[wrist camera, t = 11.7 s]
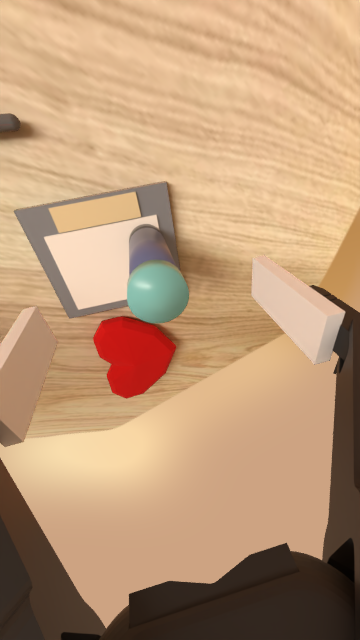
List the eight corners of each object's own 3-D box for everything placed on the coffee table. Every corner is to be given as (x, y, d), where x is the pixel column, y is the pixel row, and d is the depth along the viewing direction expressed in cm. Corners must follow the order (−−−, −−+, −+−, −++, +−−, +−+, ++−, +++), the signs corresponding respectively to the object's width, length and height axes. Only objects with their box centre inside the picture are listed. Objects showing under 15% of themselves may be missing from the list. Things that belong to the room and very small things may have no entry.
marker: (133, 263, 26) (136, 328, 16) (122, 226, 24) (119, 276, 14) (168, 256, 26) (192, 316, 16) (161, 218, 24) (184, 262, 14)
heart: (165, 300, 32) (89, 318, 31) (172, 312, 29) (87, 333, 27) (178, 370, 38) (115, 389, 36) (186, 388, 34) (115, 409, 32)
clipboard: (70, 315, 29) (68, 319, 28) (16, 209, 22) (12, 211, 21) (182, 290, 30) (184, 294, 29) (165, 181, 23) (166, 182, 22)
